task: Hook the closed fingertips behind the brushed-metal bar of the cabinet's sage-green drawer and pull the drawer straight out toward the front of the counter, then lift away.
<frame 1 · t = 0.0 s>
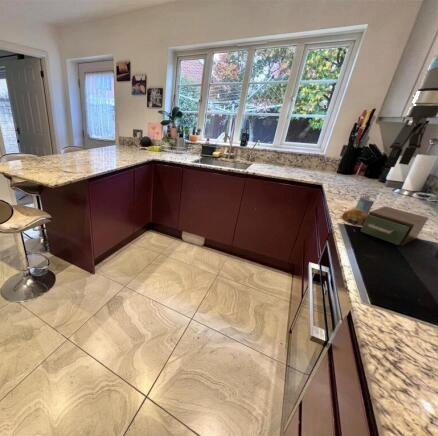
hand: (396, 165, 91), 29 cm above the worktop, tool pointing down, fingers open, 13 cm apart
drawer: (387, 227, 96), point 5 cm above the worktop, slide at 1.0 cm
bread roll: (353, 221, 113), on the worktop
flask: (359, 214, 122), on the worktop
cabinet: (387, 235, 101), on the worktop
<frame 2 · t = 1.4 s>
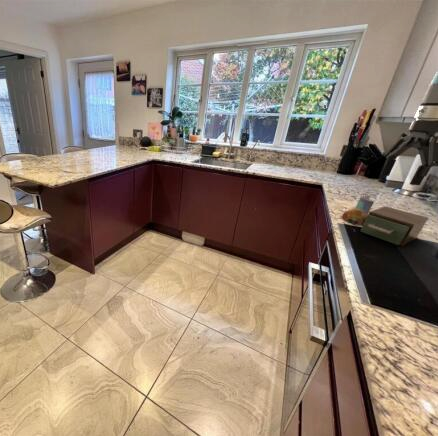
hand: (398, 179, 89), 25 cm above the worktop, tool pointing down, fingers open, 13 cm apart
nothing on the worktop moved.
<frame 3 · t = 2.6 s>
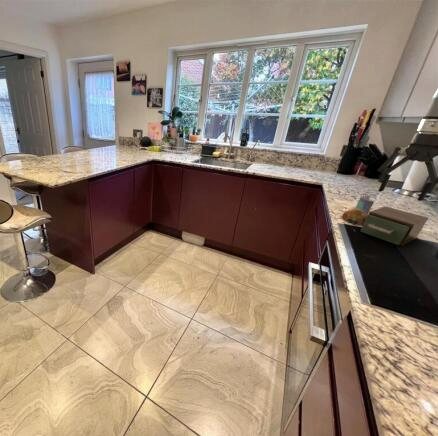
hand: (399, 195, 87), 20 cm above the worktop, tool pointing down, fingers open, 10 cm apart
nothing on the worktop moved.
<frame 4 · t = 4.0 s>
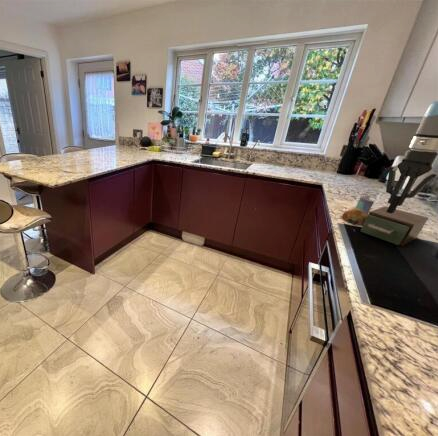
hand: (390, 212, 90), 13 cm above the worktop, tool pointing down, fingers closed
nothing on the worktop moved.
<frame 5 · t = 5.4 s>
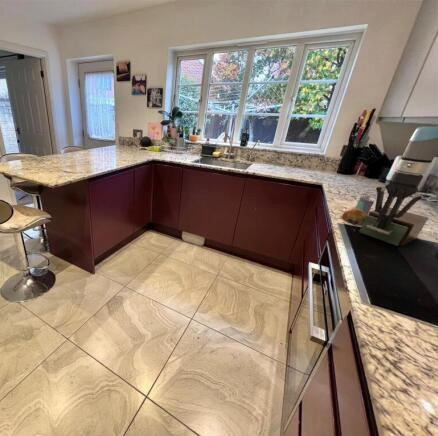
hand: (378, 230, 93), 5 cm above the worktop, tool pointing down, fingers closed
drawer: (386, 228, 96), point 5 cm above the worktop, slide at 2.3 cm, touching gripper
everything else where it was.
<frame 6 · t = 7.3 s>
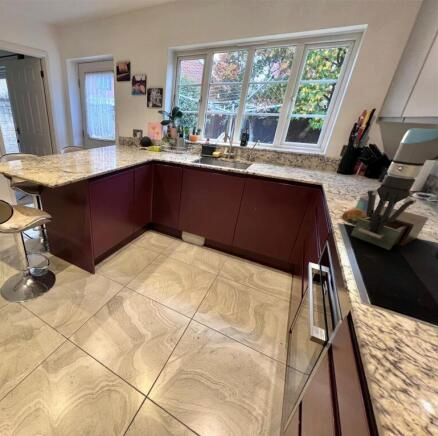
hand: (370, 235, 90), 4 cm above the worktop, tool pointing down, fingers closed
drawer: (378, 231, 93), point 5 cm above the worktop, slide at 9.4 cm
everything else where it was.
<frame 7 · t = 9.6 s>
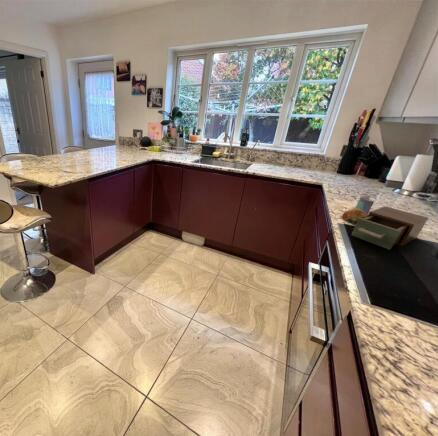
hand: (435, 192, 85), 22 cm above the worktop, tool pointing down, fingers closed
nothing on the worktop moved.
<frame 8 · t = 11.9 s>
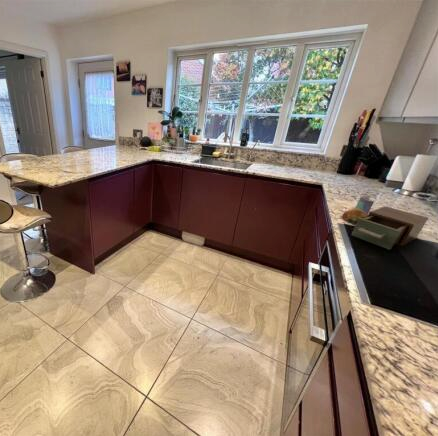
nothing on the worktop moved.
at the end: drawer slide at 9.2 cm; bread roll moved 0.2 cm from its start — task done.
